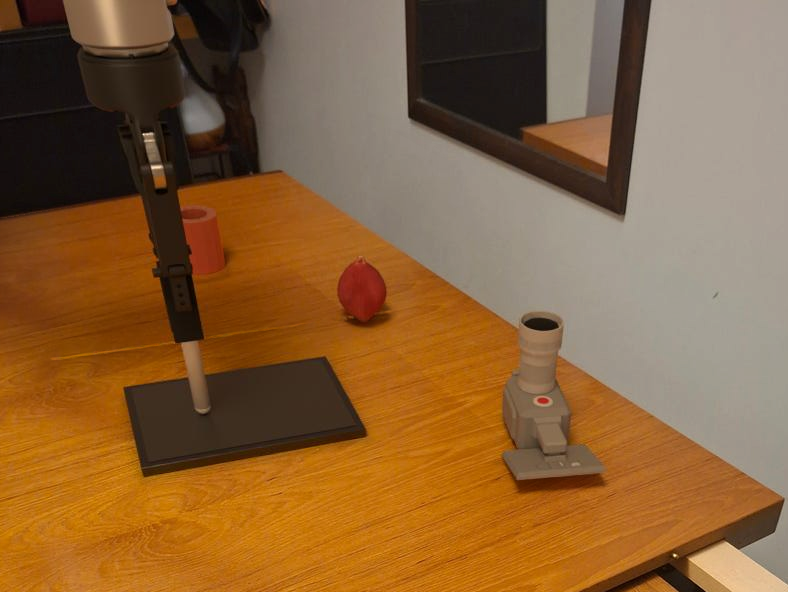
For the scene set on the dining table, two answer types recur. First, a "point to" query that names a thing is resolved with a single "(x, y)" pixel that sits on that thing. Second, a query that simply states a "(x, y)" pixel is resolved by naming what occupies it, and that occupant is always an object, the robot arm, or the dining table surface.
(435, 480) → the dining table surface
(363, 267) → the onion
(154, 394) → the tablet
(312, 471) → the dining table surface
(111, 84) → the robot arm
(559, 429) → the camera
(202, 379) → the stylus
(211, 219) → the pen pot
